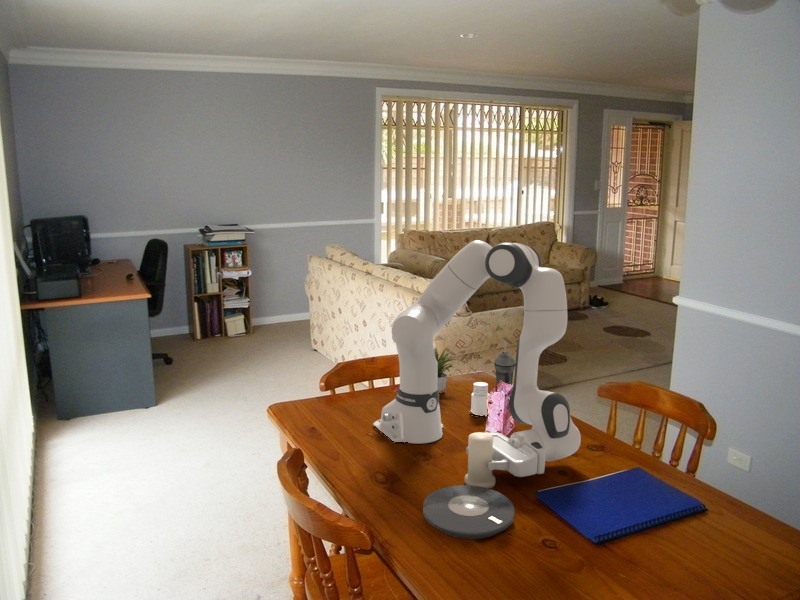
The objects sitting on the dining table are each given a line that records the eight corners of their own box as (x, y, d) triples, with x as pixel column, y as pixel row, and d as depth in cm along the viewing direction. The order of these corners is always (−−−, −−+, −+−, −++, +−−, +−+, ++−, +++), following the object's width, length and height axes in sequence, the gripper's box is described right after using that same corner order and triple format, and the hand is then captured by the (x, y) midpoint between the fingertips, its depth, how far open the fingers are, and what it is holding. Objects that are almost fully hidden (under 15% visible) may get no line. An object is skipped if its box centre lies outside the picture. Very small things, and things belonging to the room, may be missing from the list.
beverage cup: (513, 392, 229) (515, 337, 226) (515, 399, 222) (517, 342, 219) (492, 392, 230) (494, 337, 227) (493, 398, 223) (495, 342, 219)
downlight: (492, 418, 205) (493, 387, 204) (470, 418, 205) (470, 387, 204) (489, 410, 213) (490, 380, 212) (468, 410, 213) (468, 380, 212)
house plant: (444, 402, 220) (445, 355, 217) (409, 395, 227) (410, 349, 224) (463, 390, 232) (464, 346, 229) (429, 384, 239) (430, 341, 236)
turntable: (404, 509, 145) (404, 502, 145) (468, 483, 157) (468, 476, 157) (468, 547, 130) (468, 540, 129) (533, 515, 142) (533, 508, 142)
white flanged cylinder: (458, 481, 162) (458, 436, 160) (479, 472, 167) (480, 428, 165) (480, 492, 156) (481, 445, 154) (501, 483, 161) (502, 437, 159)
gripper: (501, 423, 174) (456, 431, 169) (549, 451, 156) (500, 462, 150) (500, 445, 176) (456, 454, 170) (547, 476, 157) (499, 487, 152)
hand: (477, 458), depth 160 cm, fingers open, 8 cm apart
